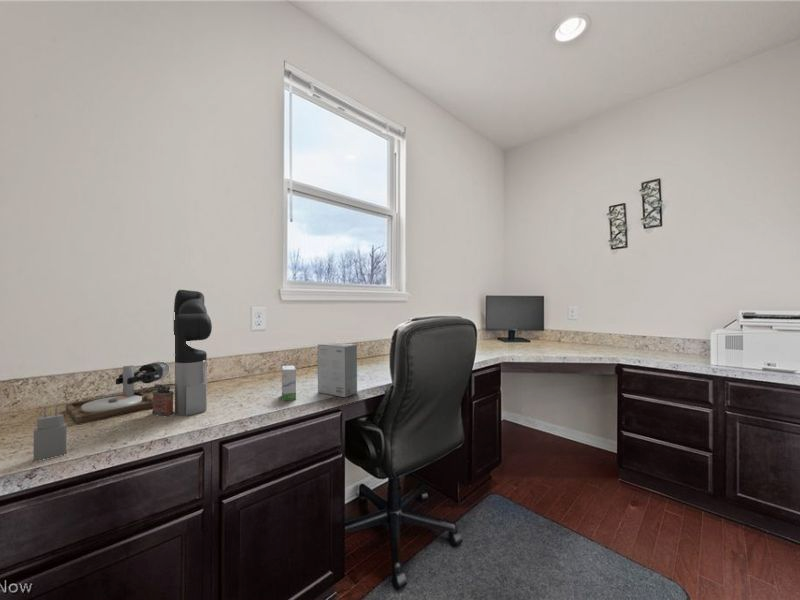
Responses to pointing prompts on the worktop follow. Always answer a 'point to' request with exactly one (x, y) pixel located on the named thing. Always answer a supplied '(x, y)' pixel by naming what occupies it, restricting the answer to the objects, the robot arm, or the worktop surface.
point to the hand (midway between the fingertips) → (122, 381)
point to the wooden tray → (80, 417)
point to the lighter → (162, 400)
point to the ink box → (288, 383)
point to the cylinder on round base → (116, 401)
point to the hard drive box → (337, 369)
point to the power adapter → (50, 436)
